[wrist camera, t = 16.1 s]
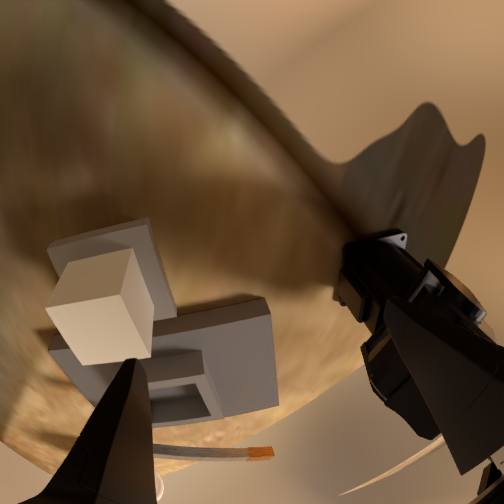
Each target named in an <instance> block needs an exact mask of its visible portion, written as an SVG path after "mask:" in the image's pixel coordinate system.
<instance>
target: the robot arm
mask: <svg viewBox="0 0 504 504" xmlns="http://www.w3.org/2000/svg"><path fill="white" fill-rule="evenodd" d="M401 237H402V238H401ZM406 240H407V235H406V234H405V233H404V232H403V231H400V232H396V233H391V234H387V235H382V236H378V237H373V238H369V239H364V240H359V241H355V242H350V243H347V244H345V245H344V247H343V252H342V267H341V269H340V273H339V286H338V294H339V303H340V305H341V306H347V307H348V308H349V310H350V311H351V313H352V314H353V316H354V317H355V319H356V320H357V321H358V322H359V323H362V322H364V323H365V325H366V326H367V328H368V329H369V331H370V332H371V334H372V335H371V337H370V338H369V339H368V340H367V341H366V342H364V343H363V344H362V346H361V347H360V348H361V352H362V355H363V359H364V363H365V366H366V370H367V374H368V377H369V381H370V384H371V387H372V390H373V392H374V393H375V394H376V395H377V396H378V397H379V398H380V399H381V400H382V401H383V402H384V404H385V405H386V406H387V407H389V408H390V409H392V410H393V411H395V412H396V413H397V414H399V415H400V416H401V417H402V418H403V419H404V420H405V421H406V422H407V423H408V424H409V425H410V426H411V428H412V429H413V430H414V431H415V432H416V434H417V435H418V436H420V437H423V438H425V439H428V440H433V439H434V438H435V437H437V436H438V435H439V434H440V433H442V435H443V438H444V440H445V442H446V444H447V446H448V448H449V450H450V452H451V454H452V457H453V459H454V461H455V463H456V466H457V468H458V470H459V472H460V474H461V475H464V474H465V473H466V472H468V471H470V470H471V469H473V468H474V467H476V466H477V465H479V464H480V463H482V462H483V461H484V460H486V459H487V458H488V459H489V460H490V461H491V463H490V464H489V465H488V466H486V467H485V468H484V470H483V474H482V478H481V482H480V486H479V489H478V493H477V495H478V497H476V498H475V499H474V500H473V501H471V502H470V503H469V504H504V347H503V346H500V345H498V343H497V339H496V336H495V333H494V331H493V329H492V328H491V327H490V326H489V325H488V324H487V323H486V322H485V321H484V320H483V319H484V317H485V316H486V315H487V312H486V310H485V309H484V308H483V306H482V305H481V304H480V302H479V301H478V300H477V298H476V297H475V296H474V294H473V293H472V292H471V291H470V290H469V289H468V288H467V287H466V286H465V285H464V284H463V283H461V282H460V281H459V280H458V279H457V278H456V277H454V275H452V274H451V273H449V272H448V271H446V270H445V269H443V268H442V267H440V266H439V265H437V264H436V263H434V262H433V261H431V260H429V259H427V260H426V262H425V263H424V267H423V266H422V265H421V264H420V263H419V262H417V261H416V260H415V259H414V258H413V257H412V256H411V255H410V254H409V253H407V252H406V251H405V246H406ZM349 248H350V250H349V251H348V249H349ZM18 504H157V497H156V487H155V474H154V459H153V438H152V414H151V406H150V398H149V389H148V380H147V374H146V372H145V370H144V368H143V367H142V365H141V363H140V362H139V360H138V359H137V358H128V359H125V360H124V362H123V363H122V365H121V367H120V368H119V370H118V371H117V373H116V375H115V376H114V378H113V379H112V381H111V383H110V384H109V386H108V388H107V389H106V391H105V393H104V394H103V396H102V398H101V399H100V401H99V403H98V404H97V406H96V408H95V409H94V411H93V413H92V414H91V416H90V418H89V420H88V421H87V423H86V425H85V426H84V428H83V430H82V432H81V433H80V436H79V437H78V439H77V440H76V442H75V444H74V445H73V447H72V449H71V451H70V452H69V454H68V455H67V457H66V458H65V460H64V461H63V463H62V464H61V466H60V467H59V469H58V470H57V472H56V473H55V474H54V476H53V477H52V479H51V480H50V482H49V483H48V485H47V486H46V487H45V489H44V490H43V491H42V492H41V493H39V494H38V495H37V496H35V497H33V498H30V499H28V500H26V501H23V502H21V503H18Z"/></svg>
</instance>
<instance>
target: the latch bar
mask: <svg viewBox="0 0 504 504" xmlns="http://www.w3.org/2000/svg"><path fill="white" fill-rule="evenodd" d="M273 457H274V452H273V448H272V446H271V447H250V448H198V447H182V446H170V445H161V444H153V458H163V459H175V460H191V461H257V460H258V461H259V460H270V459H271V458H273Z"/></svg>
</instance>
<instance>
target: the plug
mask: <svg viewBox="0 0 504 504" xmlns="http://www.w3.org/2000/svg"><path fill="white" fill-rule="evenodd" d="M46 250H47V253H48V255H49V257H50V259H51V262H52V264H53V266H54V268H55V270H56V272H57V275H58V277H59V281H58V283H57V285H56V287H55V289H54V291H53V293H52V295H51V297H50V299H49V301H48V303H47V305H46V307H45V309H46V311H47V312H48V314H49V316H50V318H51V319H52V321H53V322H54V324H55V326H56V327H57V329H58V330H59V332H60V333H61V335H62V337H63V338H64V340H65V341H66V343H67V344H68V346H69V347H70V348H71V350H72V351H73V353H74V354H75V356H76V357H77V358H78V360H79V361H80V363H81V364H82V365H93V364H103V363H112V362H121V361H124V360H125V359H128V358H137V359H144V358H151V347H152V329H153V321H156V320H162V319H168V318H173V317H177V307H176V304H175V301H174V298H173V295H172V292H171V289H170V286H169V283H168V280H167V277H166V274H165V271H164V268H163V264H162V261H161V258H160V255H159V251H158V248H157V245H156V241H155V238H154V234H153V231H152V227H151V224H150V220H149V217H147V218H142V219H138V220H134V221H130V222H125V223H121V224H117V225H113V226H109V227H105V228H101V229H97V230H93V231H89V232H85V233H81V234H77V235H74V236H70V237H66V238H63V239H59V240H55V241H52V242H51V243H50V245H49V246H48V247H47V249H46Z"/></svg>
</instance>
